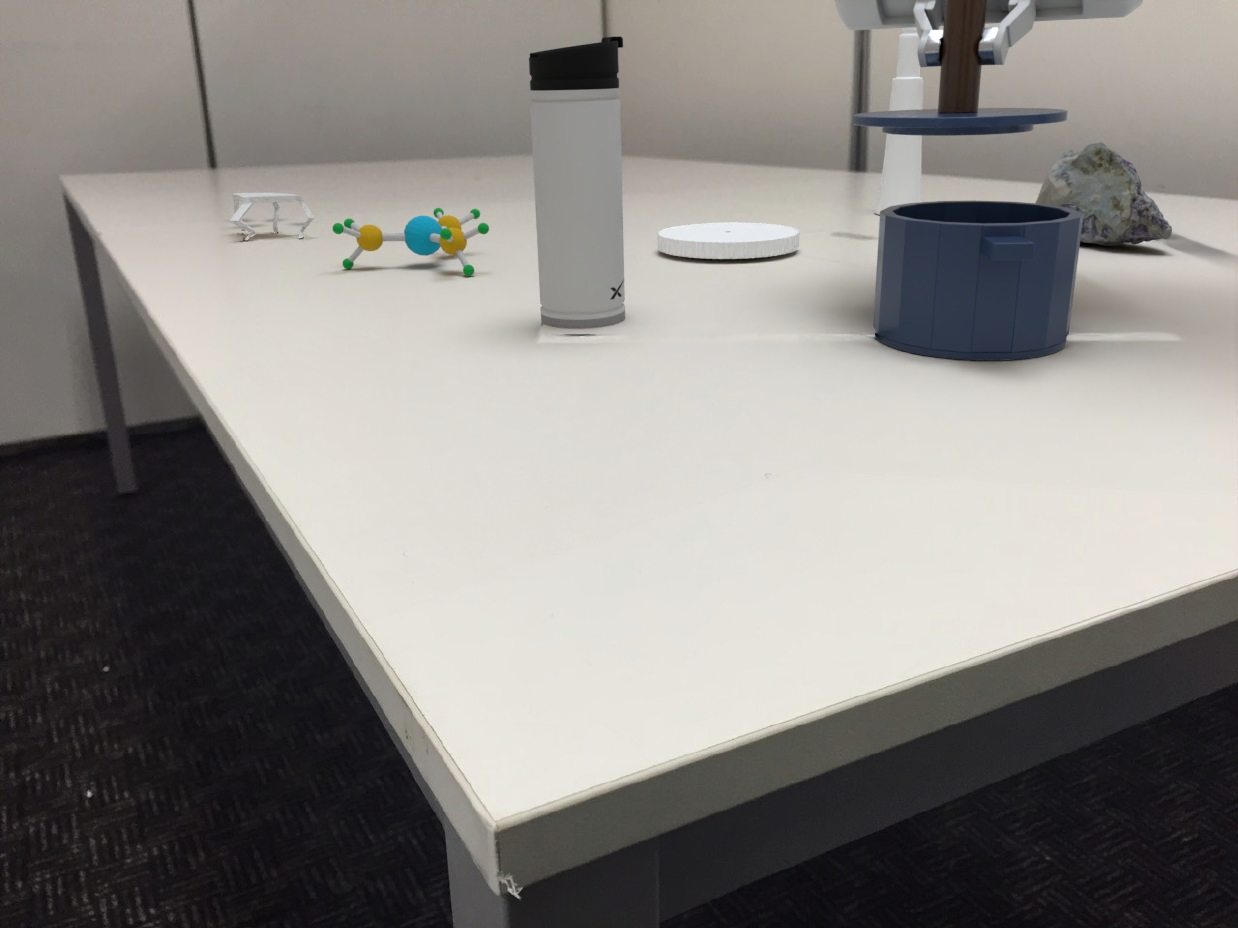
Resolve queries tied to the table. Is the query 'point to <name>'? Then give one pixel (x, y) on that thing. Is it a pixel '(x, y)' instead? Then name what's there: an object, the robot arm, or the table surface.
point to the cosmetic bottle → (903, 150)
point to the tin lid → (960, 89)
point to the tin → (976, 278)
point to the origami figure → (266, 197)
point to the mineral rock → (1104, 197)
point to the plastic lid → (728, 240)
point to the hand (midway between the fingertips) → (959, 59)
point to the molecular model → (417, 236)
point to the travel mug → (578, 184)
